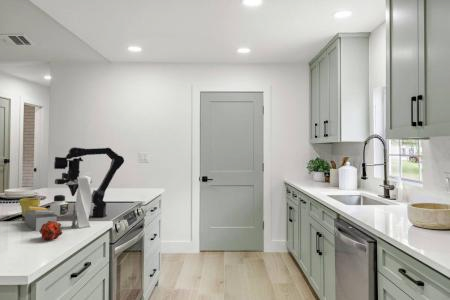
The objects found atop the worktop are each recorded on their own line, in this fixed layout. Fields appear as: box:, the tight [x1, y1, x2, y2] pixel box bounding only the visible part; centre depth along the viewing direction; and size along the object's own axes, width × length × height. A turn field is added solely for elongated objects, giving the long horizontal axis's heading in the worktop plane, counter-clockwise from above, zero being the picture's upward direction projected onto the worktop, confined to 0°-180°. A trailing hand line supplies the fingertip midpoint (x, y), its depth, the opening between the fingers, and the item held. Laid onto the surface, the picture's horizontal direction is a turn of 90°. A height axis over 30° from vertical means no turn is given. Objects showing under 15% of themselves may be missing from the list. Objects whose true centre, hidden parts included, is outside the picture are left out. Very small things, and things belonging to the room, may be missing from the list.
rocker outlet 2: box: [35, 210, 55, 214], centre depth 165 cm, size 8×4×1 cm, turn 133°
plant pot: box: [19, 197, 41, 218], centre depth 194 cm, size 10×10×10 cm
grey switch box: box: [24, 209, 58, 232], centre depth 170 cm, size 10×22×6 cm, turn 43°
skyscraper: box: [71, 172, 94, 230], centre depth 170 cm, size 8×8×28 cm
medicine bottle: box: [49, 194, 69, 217], centre depth 199 cm, size 7×7×12 cm
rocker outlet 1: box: [28, 206, 48, 211], centre depth 175 cm, size 8×4×1 cm, turn 133°
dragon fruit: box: [39, 221, 63, 242], centre depth 145 cm, size 8×8×12 cm
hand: (72, 196), depth 189 cm, fingers closed
